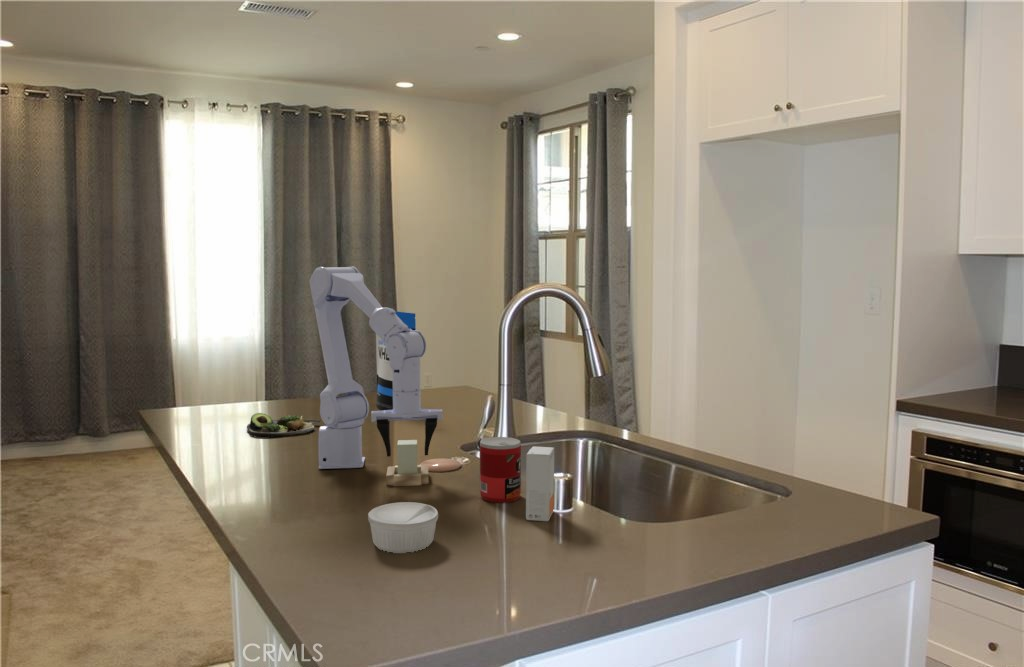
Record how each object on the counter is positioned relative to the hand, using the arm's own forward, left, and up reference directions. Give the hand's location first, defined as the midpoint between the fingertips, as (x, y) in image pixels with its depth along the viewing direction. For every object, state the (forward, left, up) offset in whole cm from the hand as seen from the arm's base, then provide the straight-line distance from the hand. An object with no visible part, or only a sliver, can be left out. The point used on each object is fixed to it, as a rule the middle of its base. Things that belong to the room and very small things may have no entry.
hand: (407, 454), depth 164 cm
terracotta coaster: (+7, +10, -5) cm, 13 cm away
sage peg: (0, 0, -5) cm, 5 cm away
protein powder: (-5, +79, -6) cm, 79 cm away
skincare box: (+24, -26, -6) cm, 36 cm away
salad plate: (-35, +52, -6) cm, 63 cm away
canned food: (+18, -14, -6) cm, 23 cm away
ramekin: (0, -37, -6) cm, 37 cm away
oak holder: (0, 0, -5) cm, 5 cm away
